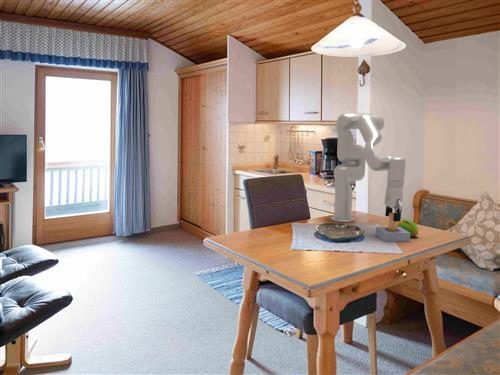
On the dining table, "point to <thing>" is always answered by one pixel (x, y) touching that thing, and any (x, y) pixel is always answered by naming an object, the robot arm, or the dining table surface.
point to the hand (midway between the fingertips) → (392, 218)
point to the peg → (392, 223)
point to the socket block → (393, 234)
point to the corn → (408, 226)
